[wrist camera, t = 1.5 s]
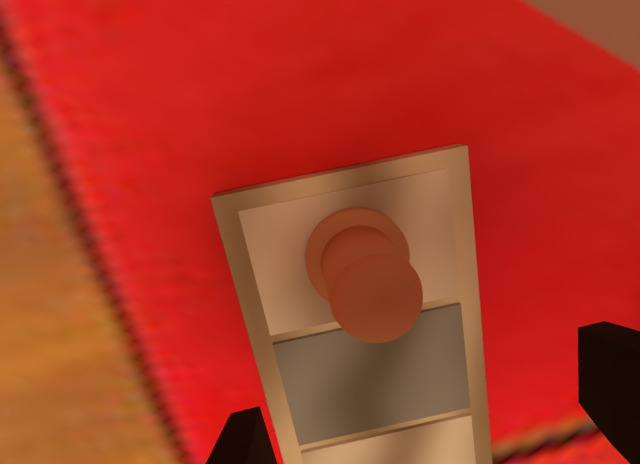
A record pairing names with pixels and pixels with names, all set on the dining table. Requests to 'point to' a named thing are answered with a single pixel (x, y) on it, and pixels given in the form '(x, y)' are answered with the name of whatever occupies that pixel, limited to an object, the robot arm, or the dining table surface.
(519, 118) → the dining table surface
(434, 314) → the board
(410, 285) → the pawn
